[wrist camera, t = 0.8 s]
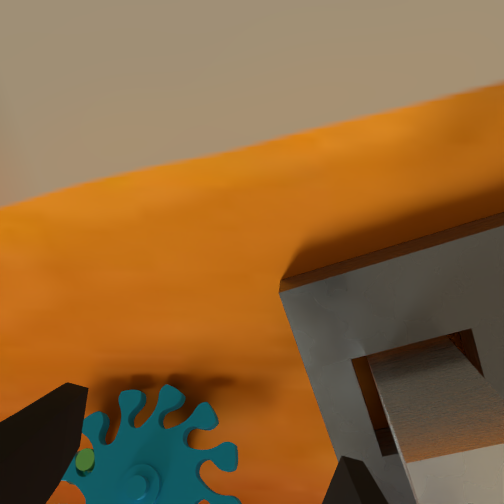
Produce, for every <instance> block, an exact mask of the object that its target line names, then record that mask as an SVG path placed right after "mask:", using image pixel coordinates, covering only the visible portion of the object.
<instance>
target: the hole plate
mask: <svg viewBox="0 0 504 504" xmlns="http://www.w3.org/2000/svg"><path fill="white" fill-rule="evenodd" d="M279 295H280V298H281V301H282V303H283V306H284V309H285V312H286V315H287V318H288V320H289V323H290V326H291V329H292V332H293V335H294V337H295V340H296V343H297V346H298V349H299V352H300V354H301V357H302V360H303V363H304V366H305V369H306V371H307V374H308V377H309V380H310V383H311V386H312V388H313V391H314V394H315V397H316V400H317V403H318V405H319V408H320V411H321V414H322V417H323V420H324V422H325V425H326V428H327V431H328V434H329V437H330V439H331V442H332V445H333V448H334V451H335V454H336V456H337V459H338V462H339V460H340V458H341V456H346V457H350V458H353V459H357V460H361V461H363V462H364V463H365V465H366V467H367V468H368V470H369V472H370V473H371V475H372V477H373V478H374V480H375V482H376V483H377V485H378V487H379V488H380V490H381V492H382V493H383V495H384V497H385V498H386V500H387V502H388V503H389V504H417V503H416V500H415V497H414V495H413V492H412V489H411V486H410V483H409V481H408V478H407V475H406V472H405V469H404V467H403V464H402V461H401V458H400V455H399V453H398V450H397V447H396V444H395V441H394V439H393V436H392V433H391V430H390V427H387V428H383V429H378V430H374V427H373V424H372V421H371V418H370V415H369V412H368V409H367V406H366V403H365V400H364V397H363V394H362V390H361V387H360V384H359V381H358V378H357V375H356V372H355V369H354V366H353V363H352V360H351V359H354V358H358V357H362V356H366V355H369V354H373V353H377V352H381V351H385V350H389V349H393V348H397V347H400V346H404V345H408V344H412V343H416V342H420V341H424V340H428V339H431V338H435V337H439V336H443V335H447V334H451V333H455V332H460V336H461V340H462V343H463V347H464V351H465V355H466V358H467V359H468V360H469V362H470V363H471V364H472V365H473V366H474V367H475V368H476V370H477V371H478V372H479V373H480V374H481V375H482V376H483V377H484V379H485V380H486V381H487V382H488V383H489V384H490V385H491V387H492V388H493V389H494V390H495V391H496V392H497V393H498V394H499V396H500V397H501V398H502V399H503V400H504V212H503V213H500V214H496V215H493V216H490V217H487V218H483V219H480V220H477V221H473V222H470V223H467V224H464V225H460V226H457V227H454V228H451V229H447V230H444V231H441V232H437V233H434V234H431V235H428V236H424V237H421V238H418V239H415V240H411V241H408V242H405V243H401V244H398V245H395V246H392V247H388V248H385V249H382V250H379V251H375V252H372V253H369V254H365V255H362V256H359V257H356V258H352V259H349V260H346V261H342V262H339V263H336V264H333V265H329V266H326V267H323V268H320V269H316V270H313V271H310V272H306V273H303V274H300V275H297V276H293V277H290V278H287V279H284V280H280V288H279Z"/></svg>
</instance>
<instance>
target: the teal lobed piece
mask: <svg viewBox="0 0 504 504" xmlns="http://www.w3.org/2000/svg"><path fill="white" fill-rule="evenodd" d="M185 399H186V397H185V396H184V394H183V393H181V392H180V391H179V390H177V389H176V388H174V387H172V386H170V385H167V384H166V385H164V386H163V387H162V389H161V390H160V393H159V398H158V403H157V406H156V408H155V410H154V412H153V413H152V415H151V416H150V417H149V419H148V420H147V421H146V422H145V423H144V424H143V425H142V426H141V427H139V428H135V426H134V419H135V416H136V415H137V414H138V413H139V412H140V411H141V410H142V409H143V407H144V406H145V404H146V394H144V393H143V392H141V391H139V390H126V391H122V392H121V393H120V396H119V405H120V408H121V424H120V427H119V430H118V433H117V436H116V438H115V440H114V441H113V442H112V443H111V444H109V445H107V444H106V441H105V437H106V433H107V431H108V428H109V425H110V419H109V417H108V415H107V414H105V413H102V412H100V411H98V412H95V413H93V414H91V415H89V416H88V417H86V418H85V419H84V421H83V427H82V433H83V434H84V435H86V436H87V437H88V438H89V440H90V441H91V443H92V446H93V449H94V450H93V449H89V448H86V449H83V450H81V451H78V452H76V454H75V456H74V458H73V460H72V462H71V463H70V465H69V467H68V469H67V471H66V472H65V474H64V476H63V478H62V479H61V480H63V481H67V482H68V483H70V484H74V485H76V486H77V487H78V488H79V489H80V490H81V492H82V493H83V495H84V497H85V499H86V504H198V503H199V502H200V501H201V500H203V499H205V500H207V501H208V502H209V503H210V504H242V503H241V501H240V500H239V499H238V498H236V497H235V496H225V495H220V494H218V493H215V492H214V491H212V490H211V489H210V488H209V487H208V486H207V485H206V484H205V483H204V482H203V480H202V479H201V477H200V474H199V470H200V467H201V465H202V464H203V462H205V461H207V460H211V461H213V462H214V464H215V465H216V466H217V467H218V468H219V469H221V470H223V471H226V472H232V471H235V470H236V469H237V465H238V450H237V446H236V445H235V444H233V443H231V442H224V443H221V444H220V445H218V446H217V447H214V448H212V449H208V450H197V449H193V448H190V447H189V446H188V443H187V437H188V434H189V433H190V431H192V430H193V429H202V430H212V429H214V428H215V427H216V426H217V425H218V424H219V421H218V417H217V415H216V413H215V411H214V410H213V408H212V407H211V405H210V404H209V403H207V402H203V403H201V404H199V405H198V406H197V407H196V408H195V410H194V412H193V413H192V415H191V416H190V417H189V418H188V419H187V420H186V421H184V422H183V423H181V424H179V425H177V426H175V427H172V428H169V429H165V428H164V425H163V420H164V417H165V416H166V414H168V413H169V412H171V411H174V410H177V409H179V408H180V407H181V406H182V405H183V404H184V402H185Z"/></svg>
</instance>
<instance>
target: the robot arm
mask: <svg viewBox="0 0 504 504" xmlns="http://www.w3.org/2000/svg"><path fill="white" fill-rule="evenodd" d="M87 394H88V388H87V387H83V386H79V385H75V384H72V383H68V382H67V383H65V384H63V385H61V386H60V387H58V388H56V389H55V390H53V391H51V392H50V393H48V394H47V395H45V396H43V397H42V398H40V399H38V400H37V401H35V402H34V403H32V404H30V405H29V406H27V407H25V408H24V409H22V410H20V411H19V412H17V413H15V414H14V415H12V416H10V417H8V418H7V419H5V420H3V421H1V422H0V504H46V502H47V501H48V499H49V498H50V496H51V495H52V494H53V492H54V491H55V489H56V488H57V486H58V485H59V483H60V481H61V479H62V478H63V476H64V474H65V472H66V471H67V469H68V467H69V465H70V463H71V462H72V460H73V458H74V456H75V454H76V452H77V450H78V449H79V447H80V440H81V434H82V427H83V421H84V414H85V408H86V401H87ZM322 504H389V503H388V502H387V500H386V498H385V497H384V495H383V493H382V492H381V490H380V488H379V487H378V485H377V483H376V482H375V480H374V478H373V477H372V475H371V473H370V472H369V470H368V468H367V467H366V465H365V463H364V462H363V461H361V460H357V459H353V458H350V457H346V456H341V458H340V460H339V463H338V465H337V468H336V470H335V473H334V475H333V478H332V480H331V483H330V485H329V488H328V490H327V493H326V495H325V498H324V500H323V503H322Z"/></svg>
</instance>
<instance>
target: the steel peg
mask: <svg viewBox="0 0 504 504" xmlns="http://www.w3.org/2000/svg"><path fill="white" fill-rule="evenodd" d="M366 357H367V360H368V363H369V366H370V369H371V373H372V376H373V379H374V382H375V385H376V388H377V391H378V394H379V398H380V401H381V404H382V407H383V410H384V413H385V416H386V419H387V422H388V425H389V427H390V430H391V433H392V436H393V439H394V441H395V444H396V447H397V450H398V453H399V455H400V458H401V461H402V464H403V467H404V469H405V472H406V475H407V478H408V481H409V483H410V486H411V489H412V492H413V495H414V497H415V500H416V503H417V504H504V400H503V399H502V398H501V397H500V396H499V394H498V393H497V392H496V391H495V390H494V389H493V388H492V387H491V385H490V384H489V383H488V382H487V381H486V380H485V379H484V377H483V376H482V375H481V374H480V373H479V372H478V371H477V370H476V368H475V367H474V366H473V365H472V364H471V363H470V362H469V360H468V359H467V358H466V357H465V356H464V355H463V354H462V353H461V351H460V350H459V349H458V348H457V347H456V346H455V345H454V343H453V342H452V341H451V340H450V339H449V338H448V337H447V336H446V335H443V336H439V337H435V338H431V339H428V340H424V341H420V342H416V343H412V344H408V345H404V346H400V347H397V348H393V349H389V350H385V351H381V352H377V353H373V354H369V355H366Z"/></svg>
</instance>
